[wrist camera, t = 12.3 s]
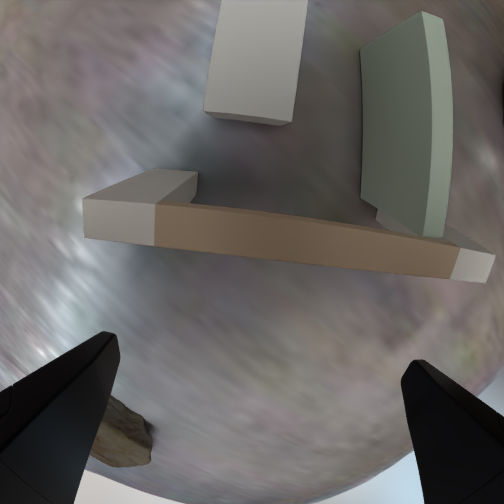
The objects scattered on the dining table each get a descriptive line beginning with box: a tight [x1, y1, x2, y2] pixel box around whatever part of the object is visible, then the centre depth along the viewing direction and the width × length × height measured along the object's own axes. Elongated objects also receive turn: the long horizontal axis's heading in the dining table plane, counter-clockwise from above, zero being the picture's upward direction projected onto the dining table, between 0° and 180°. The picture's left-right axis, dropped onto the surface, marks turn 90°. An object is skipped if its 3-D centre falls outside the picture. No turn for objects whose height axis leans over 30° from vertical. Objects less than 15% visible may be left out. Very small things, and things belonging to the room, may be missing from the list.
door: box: [360, 11, 453, 238], centre depth 13 cm, size 10×2×8 cm, turn 1°
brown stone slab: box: [89, 395, 152, 467], centre depth 26 cm, size 17×15×4 cm
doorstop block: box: [203, 0, 308, 126], centre depth 13 cm, size 4×7×5 cm, turn 172°
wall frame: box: [83, 168, 496, 283], centre depth 14 cm, size 18×2×9 cm, turn 82°
